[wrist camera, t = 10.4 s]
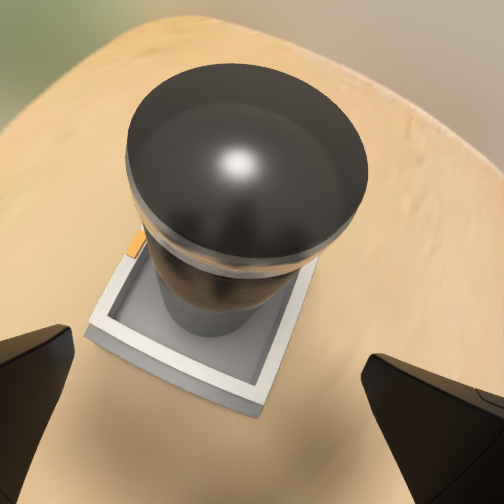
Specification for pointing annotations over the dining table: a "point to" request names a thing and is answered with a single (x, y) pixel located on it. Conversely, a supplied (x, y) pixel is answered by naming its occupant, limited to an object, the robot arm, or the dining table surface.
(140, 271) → the shallow square tray
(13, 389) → the robot arm
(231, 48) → the dining table surface
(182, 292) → the dark tapered cup
